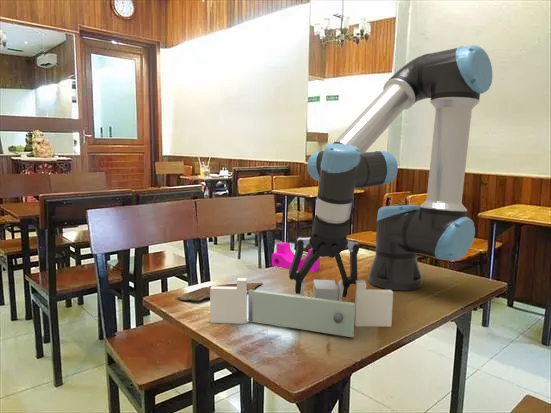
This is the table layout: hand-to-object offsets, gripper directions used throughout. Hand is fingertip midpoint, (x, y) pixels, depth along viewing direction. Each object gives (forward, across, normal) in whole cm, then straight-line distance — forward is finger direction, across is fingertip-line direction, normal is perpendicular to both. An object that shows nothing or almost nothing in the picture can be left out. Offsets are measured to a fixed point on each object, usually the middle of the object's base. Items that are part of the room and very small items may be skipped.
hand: (318, 306), depth 98 cm
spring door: (+3, +15, +4) cm, 16 cm away
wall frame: (+3, +15, +4) cm, 16 cm away
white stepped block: (+2, -2, +3) cm, 4 cm away
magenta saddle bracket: (+13, +2, -39) cm, 41 cm away
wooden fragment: (+9, +21, -12) cm, 26 cm away
